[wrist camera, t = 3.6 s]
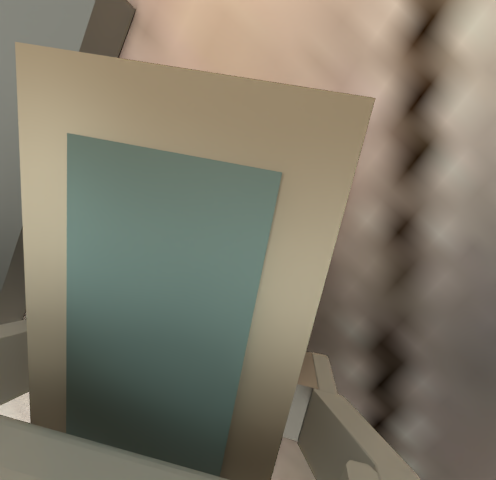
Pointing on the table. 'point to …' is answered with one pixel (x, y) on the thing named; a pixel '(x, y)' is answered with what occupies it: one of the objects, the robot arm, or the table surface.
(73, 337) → the frame
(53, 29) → the board
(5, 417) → the robot arm
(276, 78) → the table surface
